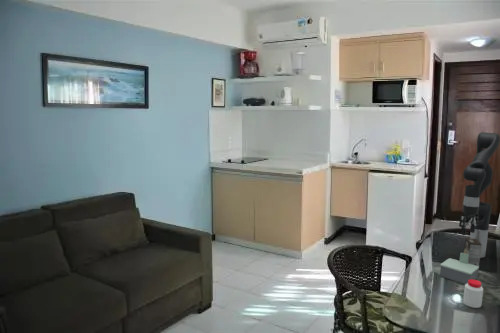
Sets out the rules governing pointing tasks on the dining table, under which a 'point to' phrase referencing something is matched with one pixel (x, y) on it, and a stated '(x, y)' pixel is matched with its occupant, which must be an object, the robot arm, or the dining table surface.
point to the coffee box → (473, 250)
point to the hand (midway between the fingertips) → (467, 233)
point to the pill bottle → (473, 294)
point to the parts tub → (457, 275)
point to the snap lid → (460, 264)
